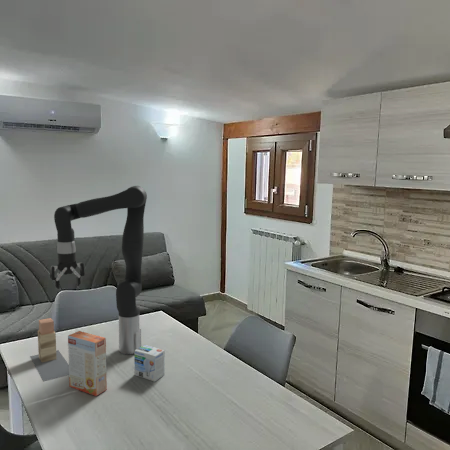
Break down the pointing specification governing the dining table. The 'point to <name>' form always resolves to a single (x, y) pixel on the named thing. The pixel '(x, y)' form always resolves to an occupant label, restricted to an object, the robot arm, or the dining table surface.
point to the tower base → (47, 353)
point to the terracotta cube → (46, 326)
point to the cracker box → (87, 362)
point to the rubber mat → (51, 367)
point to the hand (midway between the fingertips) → (68, 287)
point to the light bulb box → (149, 362)
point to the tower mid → (46, 340)
